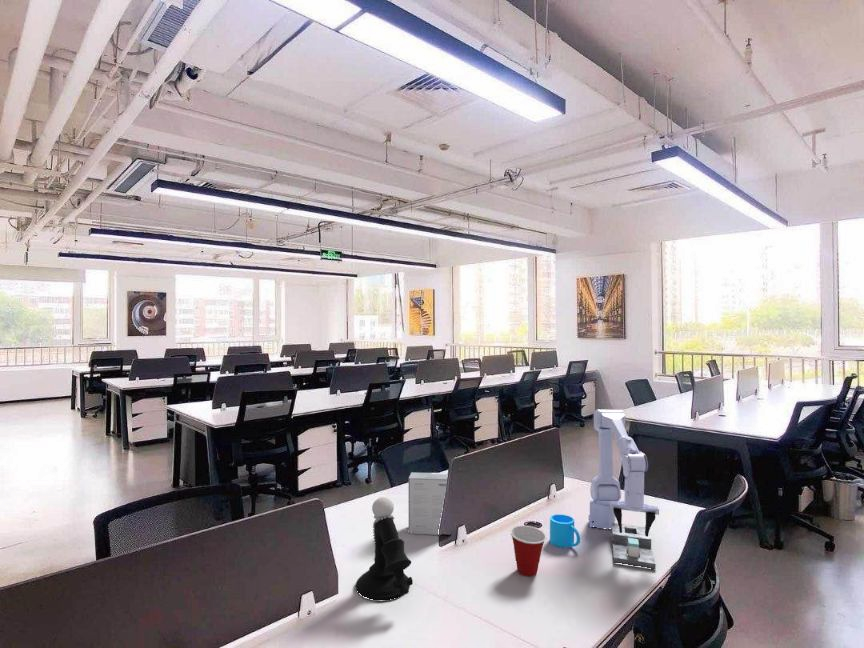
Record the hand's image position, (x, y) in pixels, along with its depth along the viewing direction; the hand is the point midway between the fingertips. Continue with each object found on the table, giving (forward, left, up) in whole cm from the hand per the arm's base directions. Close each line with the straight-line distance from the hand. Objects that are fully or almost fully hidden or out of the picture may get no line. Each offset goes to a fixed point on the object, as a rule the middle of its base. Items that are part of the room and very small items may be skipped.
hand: (633, 533), depth 158 cm
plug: (0, 0, -9) cm, 8 cm away
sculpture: (-66, -44, -9) cm, 80 cm away
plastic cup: (-31, -19, -9) cm, 37 cm away
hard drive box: (-68, -1, -9) cm, 69 cm away
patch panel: (0, +6, -8) cm, 10 cm away
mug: (-21, +4, -9) cm, 23 cm away
